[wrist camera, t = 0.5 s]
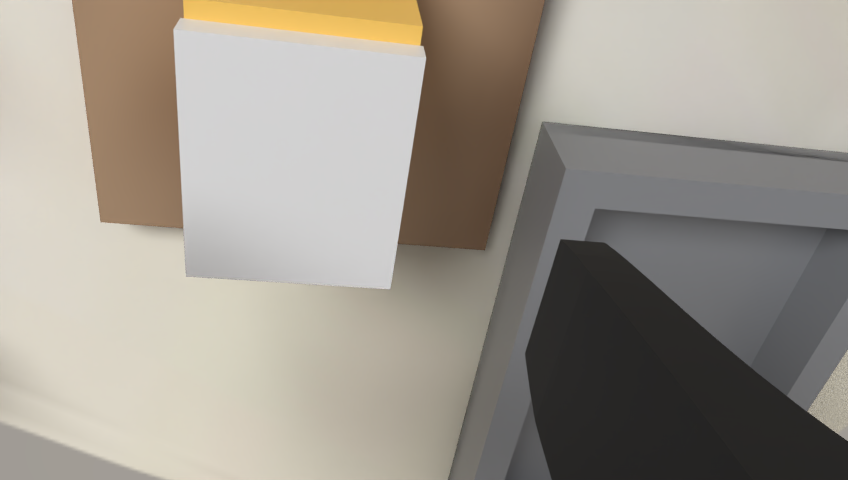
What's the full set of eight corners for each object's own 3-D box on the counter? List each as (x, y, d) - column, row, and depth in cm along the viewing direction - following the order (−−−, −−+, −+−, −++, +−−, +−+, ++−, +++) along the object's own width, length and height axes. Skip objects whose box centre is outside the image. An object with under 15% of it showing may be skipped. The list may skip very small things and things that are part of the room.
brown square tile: (571, -168, 15) (584, -164, 14) (479, 229, 20) (484, 250, 20) (58, -254, 13) (39, -255, 12) (111, 201, 19) (100, 222, 18)
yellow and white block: (405, -52, 15) (429, 38, 10) (379, 159, 18) (388, 302, 13) (228, -76, 14) (172, 8, 10) (229, 145, 17) (186, 289, 13)
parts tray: (883, 156, 20) (943, 203, 18) (683, 502, 29) (709, 560, 27) (542, 121, 19) (566, 168, 16) (443, 498, 27) (450, 559, 25)
